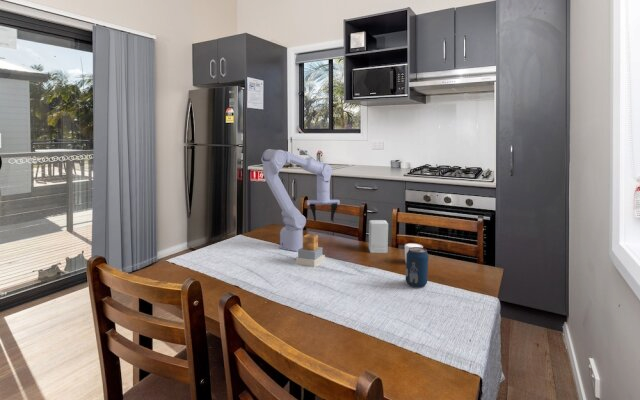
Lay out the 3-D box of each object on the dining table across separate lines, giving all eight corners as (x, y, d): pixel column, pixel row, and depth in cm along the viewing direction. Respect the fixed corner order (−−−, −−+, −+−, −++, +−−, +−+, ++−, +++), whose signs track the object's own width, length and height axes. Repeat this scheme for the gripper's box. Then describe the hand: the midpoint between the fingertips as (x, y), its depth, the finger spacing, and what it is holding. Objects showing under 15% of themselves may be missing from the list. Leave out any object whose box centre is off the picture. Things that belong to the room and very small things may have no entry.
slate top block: (298, 257, 149) (298, 249, 149) (306, 252, 156) (306, 245, 155) (314, 259, 146) (314, 252, 146) (322, 254, 153) (322, 247, 152)
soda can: (423, 280, 133) (425, 246, 131) (429, 288, 126) (431, 252, 124) (403, 280, 133) (404, 246, 131) (408, 288, 126) (409, 252, 124)
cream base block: (296, 264, 150) (296, 257, 150) (307, 259, 157) (307, 251, 156) (314, 268, 146) (314, 260, 146) (324, 262, 153) (324, 255, 152)
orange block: (302, 249, 149) (302, 236, 148) (307, 246, 153) (307, 234, 153) (313, 250, 148) (313, 237, 147) (317, 247, 152) (317, 235, 151)
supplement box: (387, 253, 163) (388, 223, 161) (369, 253, 164) (370, 223, 161) (385, 248, 171) (386, 219, 169) (368, 248, 171) (368, 219, 169)
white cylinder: (422, 266, 147) (423, 248, 146) (403, 265, 148) (404, 247, 147) (421, 260, 154) (422, 243, 153) (403, 259, 155) (404, 242, 154)
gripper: (307, 192, 170) (307, 222, 173) (340, 191, 172) (340, 221, 174) (306, 189, 177) (306, 219, 179) (338, 189, 178) (338, 218, 181)
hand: (323, 220), depth 177 cm, fingers open, 7 cm apart
